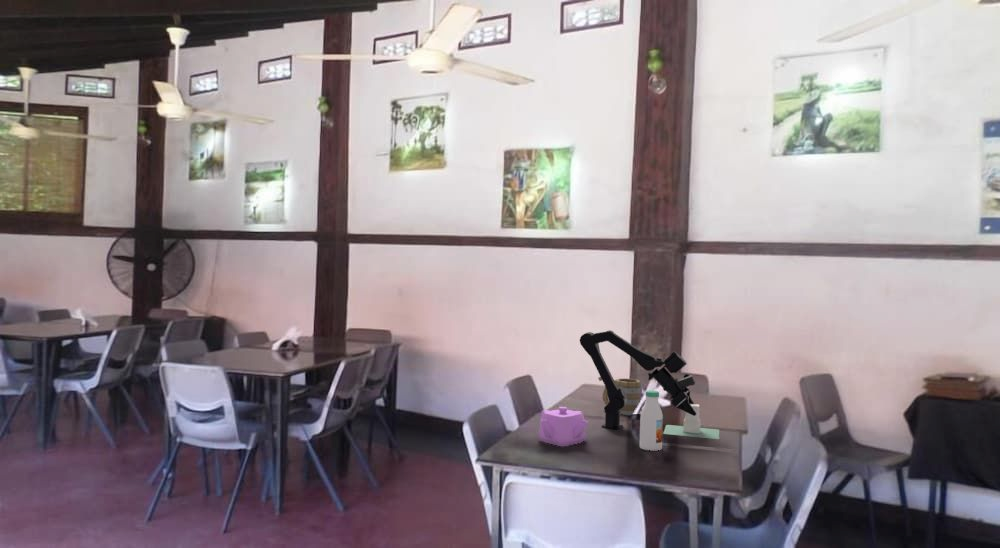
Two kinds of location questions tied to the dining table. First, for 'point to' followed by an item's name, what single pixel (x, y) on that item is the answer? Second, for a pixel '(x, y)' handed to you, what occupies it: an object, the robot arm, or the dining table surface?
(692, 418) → the plug housing
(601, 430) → the dining table surface
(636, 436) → the dining table surface
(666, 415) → the dining table surface
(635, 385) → the tankard
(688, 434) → the board
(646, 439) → the milk bottle
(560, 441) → the pink lidded box
